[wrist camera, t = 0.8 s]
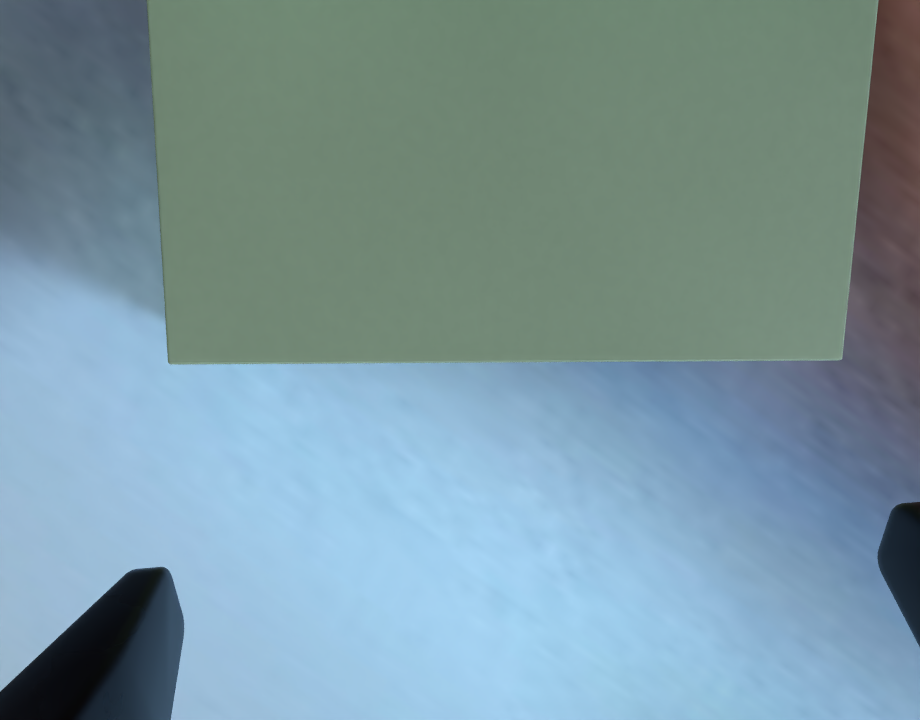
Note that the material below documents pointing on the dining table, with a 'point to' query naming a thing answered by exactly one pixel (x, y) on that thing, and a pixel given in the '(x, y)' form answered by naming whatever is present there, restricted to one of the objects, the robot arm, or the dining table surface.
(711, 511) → the dining table surface
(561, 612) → the dining table surface
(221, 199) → the mint green bench
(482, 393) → the dining table surface
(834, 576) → the dining table surface
